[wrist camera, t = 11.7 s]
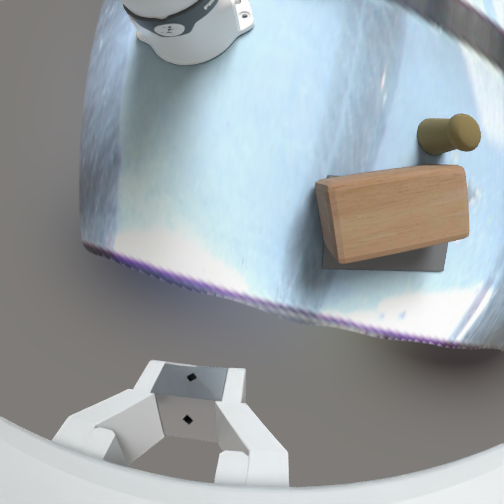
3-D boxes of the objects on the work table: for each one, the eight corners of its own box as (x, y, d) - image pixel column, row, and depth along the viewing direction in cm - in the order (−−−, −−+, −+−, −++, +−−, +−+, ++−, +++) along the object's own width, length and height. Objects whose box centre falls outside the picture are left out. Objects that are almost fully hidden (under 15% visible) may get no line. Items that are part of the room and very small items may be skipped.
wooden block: (312, 180, 43) (431, 163, 41) (323, 247, 45) (438, 225, 43) (324, 183, 33) (467, 164, 31) (337, 268, 35) (472, 239, 33)
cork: (437, 113, 39) (475, 103, 28) (452, 147, 40) (492, 146, 29) (411, 125, 40) (446, 116, 29) (426, 160, 41) (465, 161, 30)
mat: (327, 175, 43) (328, 175, 42) (452, 188, 42) (453, 189, 41) (321, 267, 46) (322, 268, 46) (442, 270, 45) (443, 271, 45)
